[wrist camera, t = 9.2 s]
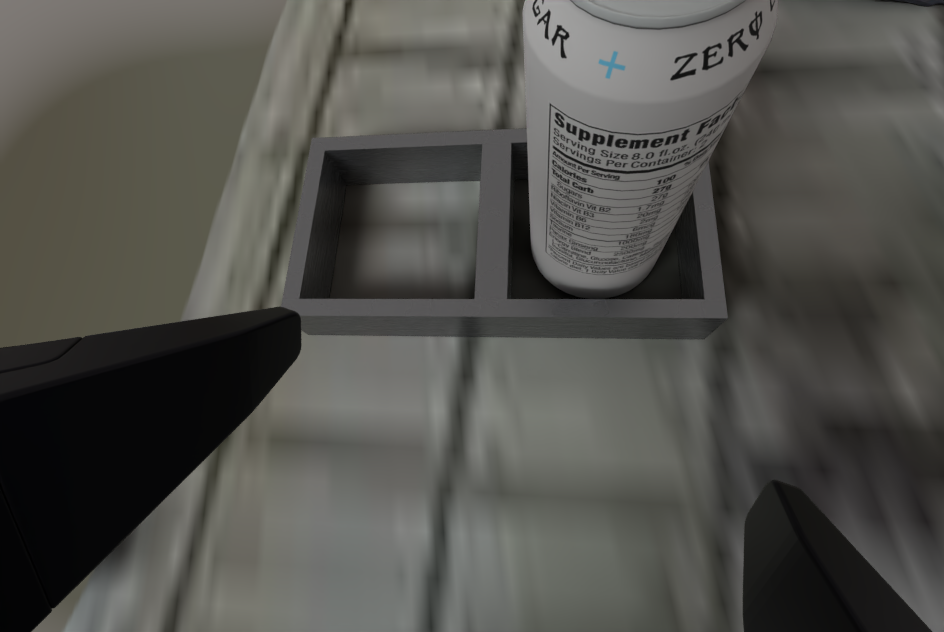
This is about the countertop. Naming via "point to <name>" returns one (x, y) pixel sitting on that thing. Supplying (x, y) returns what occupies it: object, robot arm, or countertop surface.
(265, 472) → the countertop surface
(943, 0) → the dark slate chunk
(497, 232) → the divided frame
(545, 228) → the energy drink can
